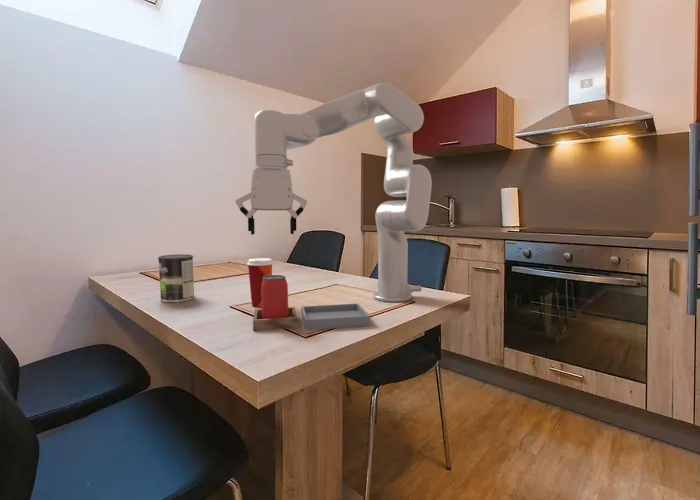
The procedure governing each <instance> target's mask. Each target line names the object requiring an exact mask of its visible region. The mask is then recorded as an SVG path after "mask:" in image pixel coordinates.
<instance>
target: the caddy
mask: <svg viewBox="0 0 700 500" xmlns="http://www.w3.org/2000/svg"><path fill="white" fill-rule="evenodd" d="M261 318H262V308H256V309H254V311H253V317H252V330H253V332H254V331H255V332H256V331H271V330H286V329H287V328H288V329H298V327H299V325H298V324H299V323H298V320H299V319H298V314H297V309H296V307H295V306H288V318H272V319H261ZM288 329H287V330H288Z"/></svg>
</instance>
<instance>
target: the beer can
mask: <svg viewBox="0 0 700 500" xmlns="http://www.w3.org/2000/svg"><path fill="white" fill-rule="evenodd" d="M261 295H262V307H261V309H262V319H272V318H289V317H288V307H289V289H288V282H287V278H286V275H281V274H272V275H269V276H265V277H263V282H262V285H261Z"/></svg>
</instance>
